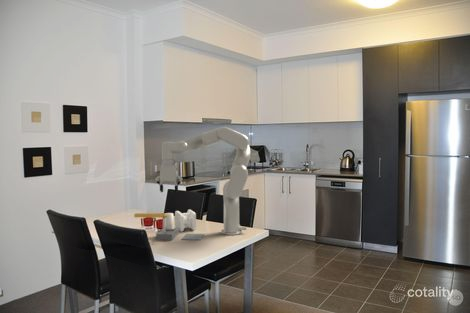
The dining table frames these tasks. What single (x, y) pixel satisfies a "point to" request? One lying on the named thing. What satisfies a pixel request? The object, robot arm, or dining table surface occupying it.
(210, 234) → the dining table surface
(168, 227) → the plug
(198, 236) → the mat
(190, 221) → the cable organizer
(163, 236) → the grey stand
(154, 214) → the clip
